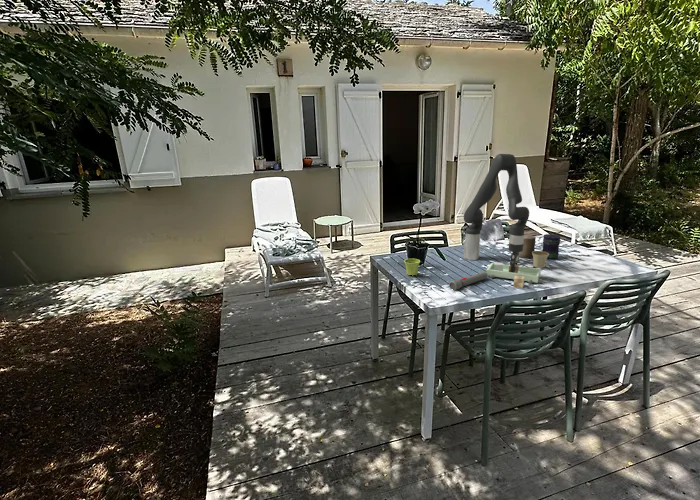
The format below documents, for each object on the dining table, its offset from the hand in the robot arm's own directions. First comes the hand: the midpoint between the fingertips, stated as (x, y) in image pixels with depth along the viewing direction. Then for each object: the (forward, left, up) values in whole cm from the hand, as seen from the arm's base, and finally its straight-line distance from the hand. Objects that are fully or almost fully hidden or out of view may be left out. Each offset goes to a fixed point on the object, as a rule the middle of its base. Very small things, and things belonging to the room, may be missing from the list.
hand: (513, 269), depth 219 cm
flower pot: (+11, +26, -5) cm, 29 cm away
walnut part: (0, 0, -3) cm, 3 cm away
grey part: (-8, 0, -3) cm, 9 cm away
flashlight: (-19, -22, -5) cm, 29 cm away
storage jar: (+15, +48, -5) cm, 51 cm away
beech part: (+5, -14, -4) cm, 15 cm away
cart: (0, 0, -4) cm, 4 cm away
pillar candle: (+1, +45, -5) cm, 46 cm away
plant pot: (-53, -22, -5) cm, 58 cm away
